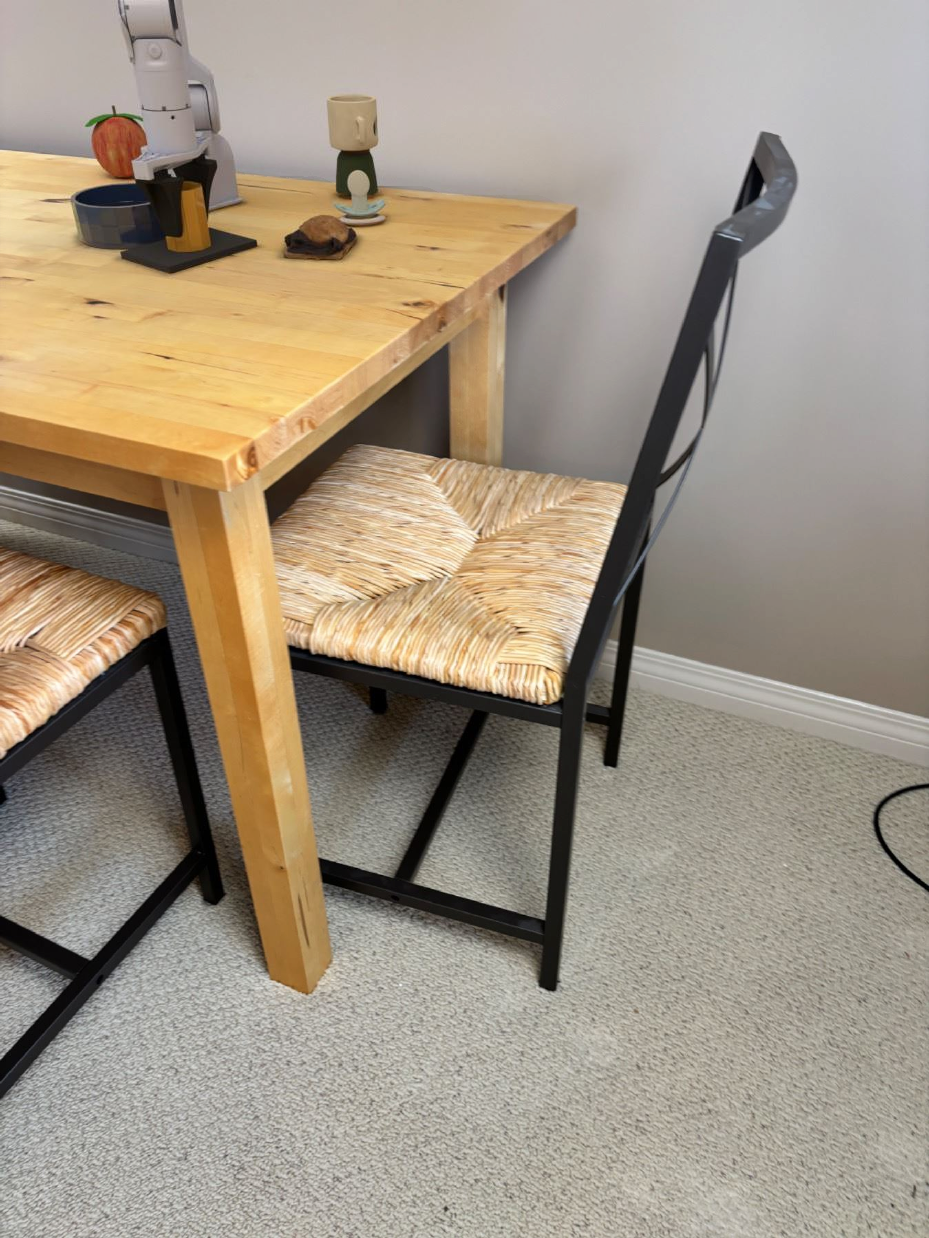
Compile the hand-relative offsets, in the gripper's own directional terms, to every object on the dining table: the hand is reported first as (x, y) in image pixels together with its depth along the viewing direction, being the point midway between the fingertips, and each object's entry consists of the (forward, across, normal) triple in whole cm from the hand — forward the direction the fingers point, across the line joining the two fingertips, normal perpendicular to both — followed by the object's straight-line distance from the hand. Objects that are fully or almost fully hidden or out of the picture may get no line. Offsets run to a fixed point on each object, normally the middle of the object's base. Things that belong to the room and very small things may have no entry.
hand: (186, 229), depth 117 cm
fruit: (+3, -32, -30) cm, 45 cm away
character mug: (+3, -33, +9) cm, 34 cm away
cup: (+2, 0, 0) cm, 2 cm away
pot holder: (+3, 0, 0) cm, 3 cm away
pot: (+3, -4, -12) cm, 13 cm away
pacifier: (+3, -20, +15) cm, 25 cm away
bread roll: (+3, -8, +15) cm, 17 cm away
